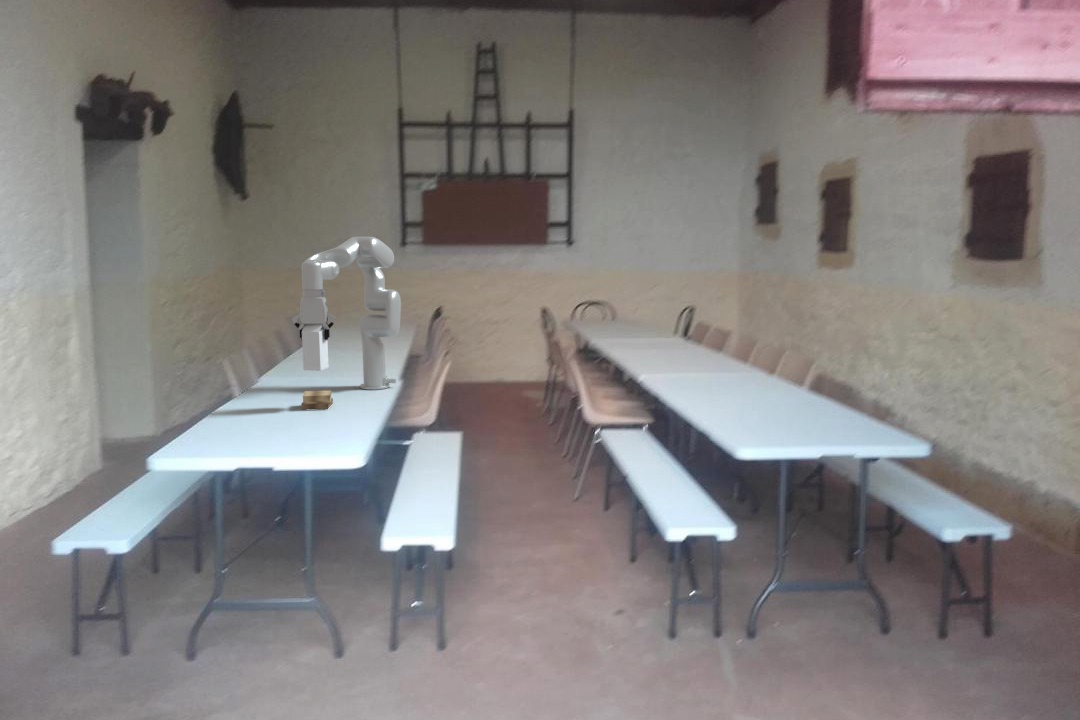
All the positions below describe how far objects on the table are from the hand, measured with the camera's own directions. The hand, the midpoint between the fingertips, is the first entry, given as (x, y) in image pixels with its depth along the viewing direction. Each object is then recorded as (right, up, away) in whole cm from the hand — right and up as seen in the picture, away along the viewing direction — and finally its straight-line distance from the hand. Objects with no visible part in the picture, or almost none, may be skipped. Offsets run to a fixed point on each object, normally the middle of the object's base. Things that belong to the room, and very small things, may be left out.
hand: (314, 339), depth 338 cm
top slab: (0, -24, +4) cm, 24 cm away
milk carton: (0, -12, +2) cm, 12 cm away
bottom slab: (0, -27, +4) cm, 27 cm away
